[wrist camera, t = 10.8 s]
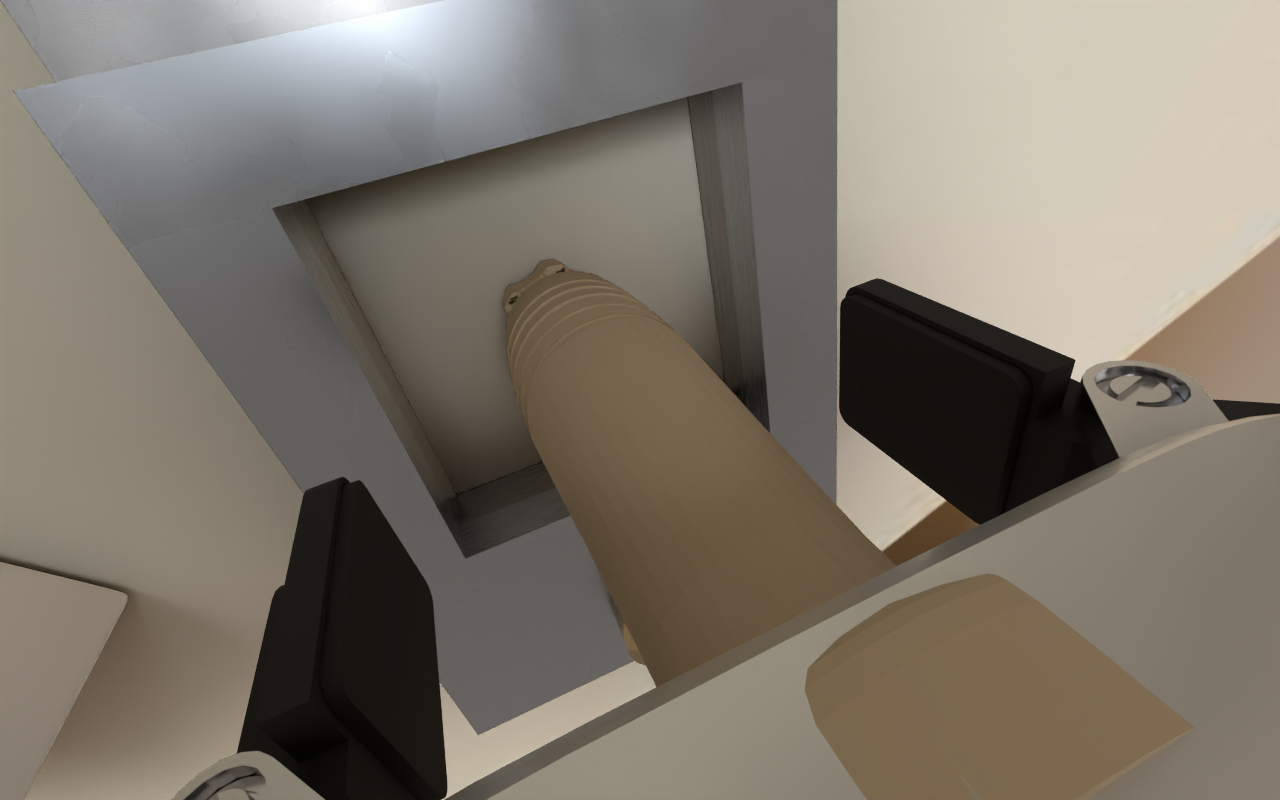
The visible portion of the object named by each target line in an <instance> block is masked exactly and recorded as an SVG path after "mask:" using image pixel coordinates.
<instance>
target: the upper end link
mask: <svg viewBox="0 0 1280 800" xmlns="http://www.w3.org/2000/svg"><path fill="white" fill-rule="evenodd" d="M711 90H712V93H713V102H714V111H715V121H716V130H717V139H718V148H719V158H720V167H721V176H722V186H723V195H724V204H725V213H726V223H727V232H728V241H729V250H730V260H731V269H732V278H733V288H734V297H735V306H736V315H737V325H738V334H739V343H740V352H741V362H742V371H743V380H744V390H745V399H746V408H747V409H748V410H749V411H750V412H751V413H752V414H753V415H754V416H755V418H756V419H757V420H758V421H759V422H760V423H761V424H762V425H763V426H764V428H765V429H766V430H767V431H768V432H769V433H770V434H771V435H772V436H773V437H774V438H775V439H776V440H777V442H778V443H779V444H780V445H781V446H782V447H783V448H784V449H785V450H786V451H787V452H788V453H789V454H790V456H791V457H792V458H793V459H794V460H795V461H796V462H797V463H798V464H799V465H800V466H801V467H802V468H803V470H804V471H805V472H806V473H807V474H808V475H809V476H810V477H811V478H812V479H813V480H814V481H815V482H816V484H817V485H818V486H819V487H820V488H821V489H822V490H823V491H824V492H825V493H826V494H827V495H828V497H829V498H830V499H831V500H832V501H833V502H834V503H835V504H836V434H837V0H443V1H438V2H433V3H429V4H424V5H419V6H414V7H410V8H405V9H400V10H395V11H391V12H386V13H381V14H376V15H372V16H367V17H362V18H357V19H353V20H348V21H343V22H338V23H334V24H329V25H324V26H320V27H315V28H310V29H305V30H301V31H296V32H291V33H286V34H282V35H277V36H272V37H267V38H263V39H258V40H253V41H248V42H244V43H239V44H234V45H229V46H225V47H220V48H215V49H210V50H206V51H201V52H196V53H191V54H187V55H182V56H177V57H172V58H168V59H163V60H158V61H153V62H149V63H144V64H139V65H134V66H130V67H125V68H120V69H115V70H111V71H106V72H101V73H96V74H92V75H87V76H82V77H77V78H73V79H68V80H63V81H58V82H54V83H49V84H44V85H39V86H35V87H30V88H25V89H21V90H16V91H13V92H14V94H15V95H16V96H17V98H18V99H19V101H20V102H21V103H22V105H23V106H24V107H25V109H26V110H27V112H28V113H29V114H30V116H31V117H32V118H33V120H34V121H35V123H36V124H37V125H38V127H39V128H40V130H41V131H42V132H43V134H44V135H45V136H46V138H47V139H48V141H49V142H50V143H51V145H52V146H53V148H54V149H55V150H56V152H57V153H58V154H59V156H60V157H61V159H62V160H63V161H64V163H65V164H66V166H67V167H68V168H69V170H70V171H71V172H72V174H73V175H74V177H75V178H76V179H77V181H78V182H79V183H80V185H81V186H82V188H83V189H84V190H85V192H86V193H87V195H88V196H89V197H90V199H91V200H92V201H93V203H94V204H95V206H96V207H97V208H98V210H99V211H100V213H101V214H102V215H103V217H104V218H105V219H106V221H107V222H108V224H109V225H110V226H111V228H112V229H113V231H114V232H115V233H116V235H117V236H118V237H119V239H120V240H121V242H122V243H123V244H124V246H125V247H126V248H127V250H128V251H129V253H130V254H131V255H132V257H133V258H134V260H135V261H136V262H137V264H138V265H139V266H140V268H141V269H142V271H143V272H144V273H145V275H146V276H147V278H148V279H149V280H150V282H151V283H152V284H153V286H154V287H155V289H156V290H157V291H158V293H159V294H160V296H161V297H162V298H163V300H164V301H165V302H166V304H167V305H168V307H169V308H170V309H171V311H172V312H173V313H174V315H175V316H176V318H177V319H178V320H179V322H180V323H181V325H182V326H183V327H184V329H185V330H186V331H187V333H188V334H189V336H190V337H191V338H192V340H193V341H194V343H195V344H196V345H197V347H198V348H199V349H200V351H201V352H202V354H203V355H204V356H205V358H206V359H207V361H208V362H209V363H210V365H211V366H212V367H213V369H214V370H215V372H216V373H217V374H218V376H219V377H220V378H221V380H222V381H223V383H224V384H225V385H226V387H227V388H228V390H229V391H230V392H231V394H232V395H233V396H234V398H235V399H236V401H237V402H238V403H239V405H240V406H241V408H242V409H243V410H244V412H245V413H246V414H247V416H248V417H249V419H250V420H251V421H252V423H253V424H254V425H255V427H256V428H257V430H258V431H259V432H260V434H261V435H262V437H263V438H264V439H265V441H266V442H267V443H268V445H269V446H270V448H271V449H272V450H273V452H274V453H275V455H276V456H277V457H278V459H279V460H280V461H281V463H282V464H283V466H284V467H285V468H286V470H287V471H288V473H289V474H290V475H291V477H292V478H293V479H294V481H295V482H296V484H297V485H298V486H299V488H300V489H301V490H302V492H303V493H305V491H306V490H308V489H310V488H313V487H315V486H318V485H321V484H323V483H326V482H329V481H332V480H334V479H337V478H340V477H345V478H346V479H347V480H349V482H350V483H351V482H354V481H357V480H360V481H361V482H363V484H364V485H365V486H366V488H367V489H368V491H369V492H370V494H371V496H372V497H373V499H374V500H375V502H376V503H377V505H378V507H379V508H380V510H381V511H382V513H383V514H384V516H385V518H386V519H387V521H388V522H389V524H390V525H391V527H392V529H393V530H394V532H395V533H396V535H397V536H398V538H399V540H400V541H401V543H402V544H403V546H404V547H405V549H406V550H407V552H408V554H409V555H410V557H411V558H412V560H413V561H414V563H415V565H416V566H417V568H418V569H419V571H420V572H421V574H422V576H423V577H424V579H425V580H426V582H427V584H428V586H429V588H430V591H431V594H432V599H433V607H434V620H435V633H436V646H437V658H438V671H439V681H440V683H441V684H442V685H443V687H444V688H445V690H446V691H447V692H448V694H449V695H450V697H451V698H452V699H453V701H454V702H455V703H456V705H457V706H458V708H459V709H460V710H461V712H462V713H463V715H464V716H465V717H466V719H467V720H468V721H469V723H470V724H471V726H472V727H473V728H474V730H475V731H476V733H477V734H478V735H479V734H481V733H483V732H486V731H488V730H490V729H492V728H494V727H496V726H498V725H500V724H502V723H504V722H507V721H509V720H511V719H513V718H515V717H517V716H519V715H521V714H523V713H525V712H528V711H530V710H532V709H534V708H536V707H538V706H540V705H542V704H544V703H546V702H549V701H551V700H553V699H555V698H557V697H559V696H561V695H563V694H565V693H567V692H570V691H572V690H574V689H576V688H578V687H580V686H582V685H584V684H586V683H588V682H591V681H593V680H595V679H597V678H599V677H601V676H603V675H605V674H607V673H609V672H612V671H614V670H616V669H618V668H620V667H622V666H624V665H626V664H628V663H630V662H633V661H636V662H638V663H640V664H643V665H646V664H645V662H644V660H643V658H642V656H641V654H640V652H639V650H638V648H637V646H636V644H635V642H634V640H633V638H632V636H631V634H630V632H629V630H628V628H627V626H626V624H625V622H624V620H623V618H622V616H621V614H620V612H619V610H618V608H617V606H616V604H615V602H614V600H613V598H612V596H611V594H610V592H609V590H608V588H607V586H606V584H605V582H604V580H603V578H602V576H601V574H600V572H599V570H598V568H597V566H596V564H595V562H594V560H593V558H592V556H591V554H590V552H589V550H588V548H587V546H586V544H585V542H584V540H583V538H582V536H581V535H580V533H579V531H578V529H577V527H576V525H575V523H574V521H573V519H572V517H571V515H570V513H569V511H568V509H567V507H566V505H565V504H564V502H563V500H562V498H561V496H560V494H559V492H558V490H557V488H556V487H554V488H552V489H549V490H547V491H544V492H542V493H539V494H537V495H534V496H532V497H529V498H527V499H524V500H522V501H519V502H517V503H514V504H512V505H509V506H507V507H504V508H502V509H499V510H497V511H494V512H492V513H489V514H487V515H484V516H482V517H479V518H477V519H474V520H472V521H469V522H467V523H464V524H462V525H461V524H460V522H459V521H458V519H457V517H456V515H455V513H454V511H453V509H452V507H451V505H450V504H449V502H448V500H447V498H446V496H445V494H444V492H443V490H442V489H441V487H440V485H439V483H438V481H437V479H436V477H435V475H434V474H433V472H432V470H431V468H430V466H429V464H428V462H427V460H426V458H425V457H424V455H423V453H422V451H421V449H420V447H419V445H418V443H417V442H416V440H415V438H414V436H413V434H412V432H411V430H410V428H409V427H408V425H407V423H406V421H405V419H404V417H403V415H402V413H401V411H400V410H399V408H398V406H397V404H396V402H395V400H394V398H393V396H392V395H391V393H390V391H389V389H388V387H387V385H386V383H385V381H384V380H383V378H382V376H381V374H380V372H379V370H378V368H377V366H376V364H375V363H374V361H373V359H372V357H371V355H370V353H369V351H368V349H367V348H366V346H365V344H364V342H363V340H362V338H361V336H360V334H359V333H358V331H357V329H356V327H355V325H354V323H353V321H352V319H351V317H350V316H349V314H348V312H347V310H346V308H345V306H344V304H343V302H342V301H341V299H340V297H339V295H338V293H337V291H336V289H335V287H334V286H333V284H332V282H331V280H330V278H329V276H328V274H327V272H326V271H325V269H324V267H323V265H322V263H321V261H320V259H319V257H318V255H317V254H316V252H315V250H314V248H313V246H312V244H311V242H310V240H309V239H308V237H307V235H306V233H305V231H304V229H303V227H302V225H301V224H300V222H299V220H298V218H297V216H296V214H295V212H294V210H293V208H292V207H291V205H290V203H293V202H297V201H300V200H304V199H308V198H311V197H315V196H319V195H323V194H326V193H330V192H334V191H338V190H341V189H345V188H349V187H353V186H356V185H360V184H364V183H367V182H371V181H375V180H379V179H382V178H386V177H390V176H394V175H397V174H401V173H405V172H409V171H412V170H416V169H420V168H424V167H427V166H431V165H435V164H438V163H442V162H446V161H450V160H453V159H457V158H461V157H465V156H468V155H472V154H476V153H480V152H483V151H487V150H491V149H494V148H498V147H502V146H506V145H509V144H513V143H517V142H521V141H524V140H528V139H532V138H536V137H539V136H543V135H547V134H550V133H554V132H558V131H562V130H565V129H569V128H573V127H577V126H580V125H584V124H588V123H592V122H595V121H599V120H603V119H606V118H610V117H614V116H618V115H621V114H625V113H629V112H633V111H636V110H640V109H644V108H648V107H651V106H655V105H659V104H662V103H666V102H670V101H674V100H677V99H681V98H685V97H689V96H692V95H696V94H700V93H704V92H707V91H711Z"/></svg>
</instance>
